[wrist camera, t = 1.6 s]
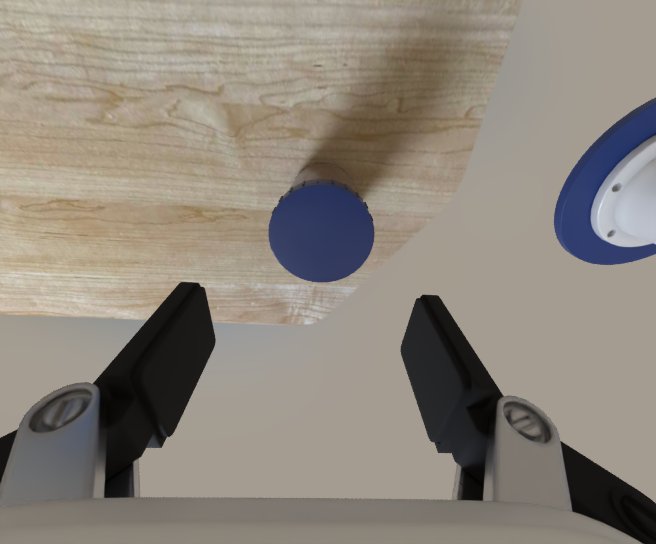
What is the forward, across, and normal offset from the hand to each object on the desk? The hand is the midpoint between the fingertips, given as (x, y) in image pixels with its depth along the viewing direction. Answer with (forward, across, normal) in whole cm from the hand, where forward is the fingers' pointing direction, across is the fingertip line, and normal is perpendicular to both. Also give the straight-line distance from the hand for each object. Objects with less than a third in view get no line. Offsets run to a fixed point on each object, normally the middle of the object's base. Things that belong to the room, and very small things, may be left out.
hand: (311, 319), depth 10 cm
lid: (+8, 0, 0) cm, 8 cm away
